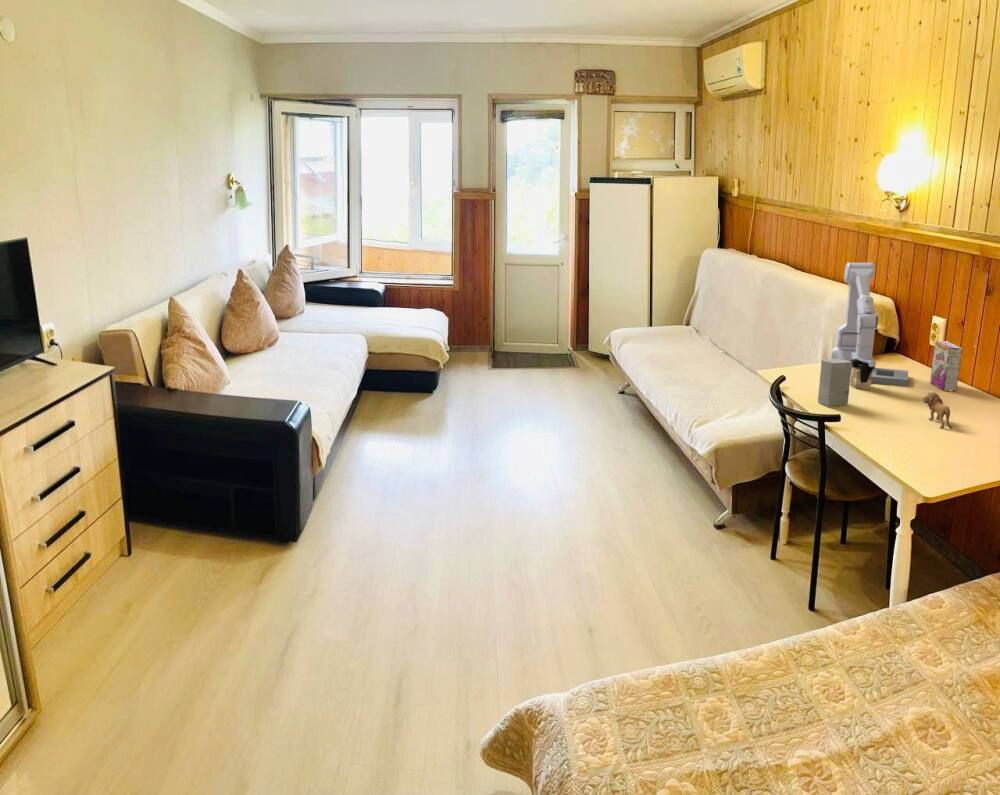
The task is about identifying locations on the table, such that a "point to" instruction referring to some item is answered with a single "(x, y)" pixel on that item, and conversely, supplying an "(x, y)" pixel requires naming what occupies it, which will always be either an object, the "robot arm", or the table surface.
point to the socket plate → (890, 376)
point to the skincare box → (834, 382)
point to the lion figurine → (937, 408)
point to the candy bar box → (946, 365)
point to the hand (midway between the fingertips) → (860, 380)
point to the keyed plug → (856, 380)
